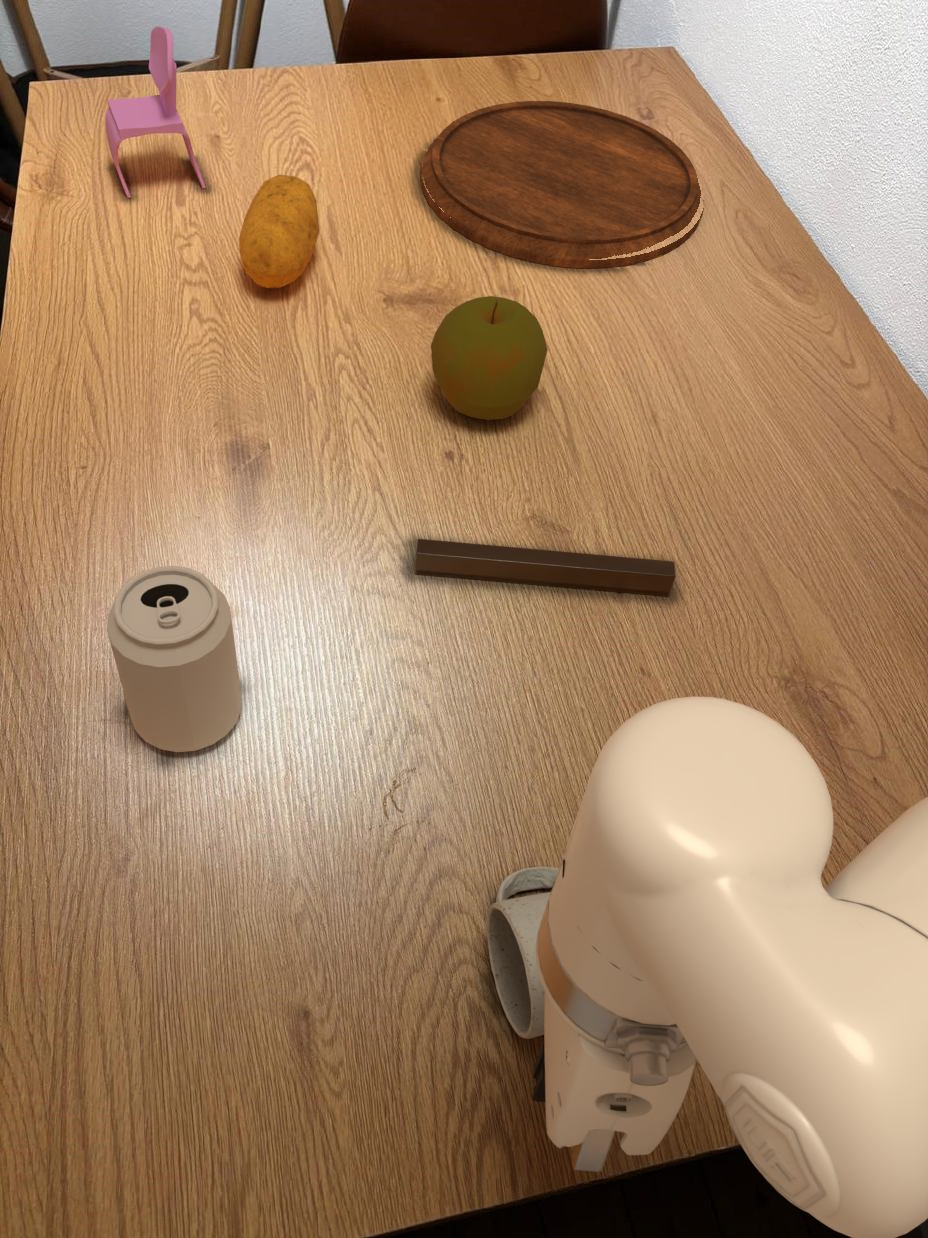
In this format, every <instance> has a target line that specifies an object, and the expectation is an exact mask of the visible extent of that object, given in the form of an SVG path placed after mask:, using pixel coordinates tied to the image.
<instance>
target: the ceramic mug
mask: <svg viewBox="0 0 928 1238" xmlns="http://www.w3.org/2000/svg"><path fill="white" fill-rule="evenodd" d="M559 868H560V867H559ZM559 868H558V867H554V866H530V867H525V868H522V869H521V868H520V869H518V870H516V871H514V872H512V873H510V874H509V875H507V876H506V877H505V878H504V879H503V881H502V882H501V884H500V885H499V888H498V889H497V893H496V898H495V899H496V900H495V902H493V903H492V904H490V907H489V909H488V910H487V911H488V912H487V919H486V938H487V949H488V956H489V964H490V969H491V972H492V976H493V979H494V982H495V988H496V992H497V995H498V997H499V1001H500V1004H501V1007H502V1010H503V1011H504V1014H505V1017H506V1019H507V1021H508V1022H509V1024H510V1026H511V1027H512V1029H513V1030H514V1032H515V1034H516V1035H517V1036H518V1037H520V1038H523V1039H524V1040H525V1039H526V1040H530V1039H534V1038H537V1037H540V1036H544V1005H545V991H544V989H543V986H542V984H541V981H540V978H539V973H538V968H537V963H536V940H537V933H538V930H539V926H540V923H541V920H542V917H543V914H544V911H545V908H546V905H547V902H548V899H549V896H550V893H551V891H547V892H542V893H536V894H535V893H534V894H530V895H525V896H519V897H518V896H517V897H514V898H513V897H512V898H510V897H511V896H513V895H516V894H517V893H519V892H524V891H530V890H540V889H552V888H553V885H554V883H555V880H556V877H557V874H558V871H559Z"/></svg>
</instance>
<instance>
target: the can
mask: <svg viewBox="0 0 928 1238" xmlns="http://www.w3.org/2000/svg"><path fill="white" fill-rule="evenodd" d="M232 619H233V618H232V612H231V606H230V604H229V601H228V599H227V597H226V596H225V593H223V592H222V591H221V590H220V589H219V588H218V587H217V586H216V585H215V584H214V583H213V582H212V581H211V580H210V579H209V578H207V576H205V574H204V573H201V572H199V571H197V570H195V569H193V568H190V567H185V566H179V565H165V566H163V565H162V566H156V567H152V568H149V569H146V570H143V571H142V572H140V573H138V574H136V575H134V576H133V577H131V578H129V579H128V580H127V581H126V583H124V585H122V587H121V588H119V591H117V595H116V597H115V599H114V601H113V604H112V605H111V608H110V610H109V612H108V614H107V622H106V632H107V635H108V636H107V637H108V639H109V643H110V644H109V645H110V647H111V650H112V655H113V658H114V663H115V666H116V669H117V674H118V677H119V680H120V684H121V688H122V692H123V695H124V699H125V703H126V707H127V710H128V714H129V718H130V721H131V723H132V726H133V728H134V731H135V732H136V734H138V735H139V737H140V738H141V739H142V740H143V741H144V742H145V743H147V744H149V745H151V746H153V747H155V748H157V749H159V750H162V751H163V750H164V751H168V752H174V753H184V752H195V751H199V750H201V749H205V748H207V747H210V746H213V745H214V744H216V743H217V742H218V741H221V740H222V739H223V738H225V737H227V735H228V734H229V733H230V731H232V729H233V728H234V726H235V725H236V724H237V723H238V720H239V717H240V715H241V712H242V709H243V705H242V704H243V703H242V702H243V701H242V689H241V682H240V674H239V666H238V659H237V650H236V649H237V648H236V644H235V634H234V627H233V626H234V625H233V620H232Z"/></svg>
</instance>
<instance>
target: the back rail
mask: <svg viewBox="0 0 928 1238" xmlns="http://www.w3.org/2000/svg"><path fill="white" fill-rule="evenodd" d="M416 540H417V541H416V542H417V543H416V551H415V564H414V574H415V575H421V576H431V577H443V578H455V579H466V580H478V581H479V580H480V581H489V582H501V583H510V584H511V583H512V584H523V585H524V584H525V585H536V586H545V587H546V586H547V587H558V588H569V589H581V590H591V591H592V590H593V591H603V592H615V593H626V594H637V595H638V594H639V595H649V596H661V597H670V594H671V591H672V589H673V585H674V582H675V579H676V578H677V577H676V576H677V575H676V566H675V561H672V560H661V559H651V558H650V559H649V558H640V557H629V556H628V557H627V556H617V555H605V554H594V553H583V552H570V551H561V550H560V551H559V550H551V549H550V550H549V549H537V548H527V547H517V546H516V547H514V546H506V545H505V546H503V545H493V544H483V543H482V544H480V543H469V542H458V541H447V540H437V539H425V538H424V539H423V538H418V539H416Z"/></svg>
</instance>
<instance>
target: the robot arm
mask: <svg viewBox="0 0 928 1238" xmlns="http://www.w3.org/2000/svg"><path fill="white" fill-rule="evenodd" d="M805 747H806V746H804V745H803V744H802V743H801V741H799V740H798V739H797V738H796V736H795V735H794V734H793V733H792V732H791V731H789V730H788V729H786V727H784V726H783V725H782V724H780V723H779V722H778V721H776V720H775V719H773V718H771V717H770V716H769V715H767V714H765V713H763V712H761V711H760V710H757V709H755V708H753V707H750V706H748V705H746V704H743V703H740V702H737V701H733V700H729V699H727V698H722V697H713V696H693V695H692V696H682V697H674V698H670V699H666V700H662V701H659V702H656V703H654V704H652V705H650V706H647V707H646V708H643V709H641V710H640V711H638V712H636V713H635V714H634V715H632V716H630V717H629V718H627V720H625V721H624V722H622V723H621V725H619V727H618V728H617V729H615V731H614V732H613V733H612V734H611V736H610V737H609V738H608V739H607V740H606V742H605V744H604V745H603V747H602V749H601V750H600V752H599V754H598V757H597V759H596V761H595V763H594V765H593V768H592V769H591V772H590V776H589V778H588V781H587V785H586V788H585V791H584V793H583V797H582V799H581V802H580V805H579V808H578V810H577V811H578V812H577V813H576V814H577V815H576V817H575V819H574V823H573V826H572V828H571V830H570V835H569V838H568V840H567V844H566V846H565V849H564V852H563V856H562V858H561V861H560V865H559V871H558V874H557V877H556V880H555V883H554V885H553V887H552V888H551V890H550V892H551V893H550V896H549V899H548V902H547V905H546V908H545V911H544V914H543V917H542V920H541V923H540V926H539V930H538V933H537V940H536V963H537V968H538V973H539V978H540V981H541V984H542V986H543V989H544V991H545V1005H544V1035H543V1036H544V1038H543V1039H544V1041H543V1042H544V1043H542V1045H541V1048H540V1049H539V1052H538V1054H537V1057H536V1060H535V1062H534V1064H533V1066H532V1079H534V1080H535V1083H534V1085H533V1088H532V1101H534V1102H537V1103H545V1125H546V1134H547V1136H548V1138H549V1140H550V1141H551V1142H552V1143H553V1145H554V1146H555V1147H557V1148H558V1149H562V1148H563V1147H567V1148H571V1160H572V1169H573V1171H581V1172H594V1173H602V1171H603V1169H604V1166H605V1163H606V1160H607V1157H608V1154H609V1151H610V1149H611V1146H612V1143H613V1139H614V1136H615V1133H624V1134H623V1136H622V1137H621V1138H620V1140H619V1146H620V1148H621V1150H622V1151H623V1152H624V1153H625V1154H626V1155H627V1156H645V1155H647V1156H648V1155H650V1154H651V1153H652V1152H654V1150H655V1149H656V1148H657V1147H658V1146H659V1144H660V1143H661V1142H662V1140H663V1139H664V1137H665V1136H666V1134H667V1133H668V1131H669V1130H670V1128H671V1126H672V1124H673V1122H674V1121H675V1119H676V1118H677V1115H678V1113H679V1111H680V1109H681V1107H682V1106H683V1103H684V1100H685V1098H686V1095H687V1093H688V1090H689V1086H690V1083H691V1080H692V1078H693V1074H694V1070H695V1065H696V1061H697V1062H698V1063H699V1065H700V1068H701V1069H702V1071H703V1072H704V1074H705V1076H706V1077H707V1079H708V1081H709V1083H710V1084H711V1086H712V1087H713V1090H714V1091H715V1092H716V1094H717V1096H718V1097H719V1099H720V1101H721V1103H722V1104H723V1106H724V1109H725V1110H724V1111H725V1114H726V1117H727V1119H728V1123H729V1125H730V1127H731V1130H732V1131H733V1133H734V1135H735V1137H736V1139H737V1142H738V1143H739V1144H740V1146H741V1148H742V1150H743V1151H744V1152H745V1155H746V1156H747V1157H748V1159H749V1161H750V1162H751V1163H752V1165H753V1166H754V1167H755V1168H756V1170H758V1172H759V1173H760V1174H761V1176H763V1178H764V1179H765V1180H766V1181H767V1183H769V1185H770V1186H771V1187H772V1188H774V1189H775V1191H776V1192H777V1193H779V1194H780V1195H781V1196H783V1198H785V1199H786V1200H787V1201H788V1202H789V1203H791V1204H792V1205H793V1206H795V1207H797V1208H798V1209H800V1210H802V1211H803V1212H806V1213H808V1214H809V1215H811V1216H812V1217H813V1218H815V1220H817V1221H819V1222H820V1223H821V1224H823V1225H825V1226H827V1227H828V1228H830V1229H831V1230H833V1231H835V1232H837V1233H840V1234H843V1235H845V1236H848V1237H849V1238H898V1237H901V1236H903V1235H906V1234H908V1233H910V1232H911V1231H913V1230H914V1229H915V1228H917V1227H919V1226H920V1225H921V1224H923V1223H924V1222H926V1220H928V796H926V797H924V798H922V799H921V800H919V801H918V802H916V803H915V804H913V805H912V806H910V807H909V808H908V809H906V810H905V811H904V812H903V813H901V814H900V815H899V816H898V817H897V818H896V819H895V820H893V821H892V823H890V824H889V825H888V826H887V827H886V828H885V829H883V830H882V831H881V832H880V833H879V834H878V835H877V836H876V837H875V838H874V839H873V840H871V842H870V843H868V844H867V845H866V846H865V847H864V848H863V849H862V850H861V851H860V852H859V853H858V854H857V855H856V856H855V857H854V858H853V859H852V860H851V861H849V863H848V864H847V865H846V866H845V867H844V868H843V869H841V871H840V872H839V873H837V874H836V876H834V877H833V879H831V880H830V882H829V883H828V884H826V886H823V881H822V876H823V875H822V874H823V870H824V869H825V867H826V864H827V862H828V860H829V856H830V853H831V848H832V844H833V837H834V836H833V835H834V827H835V823H834V811H833V804H832V797H831V795H830V791H829V789H828V785H827V781H826V779H825V778H824V775H823V773H822V772H821V770H820V768H819V766H818V764H817V763H816V761H815V760H814V758H813V757H812V755H811V754H810V752H809V751H808V750H807V749H806V748H805Z"/></svg>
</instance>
